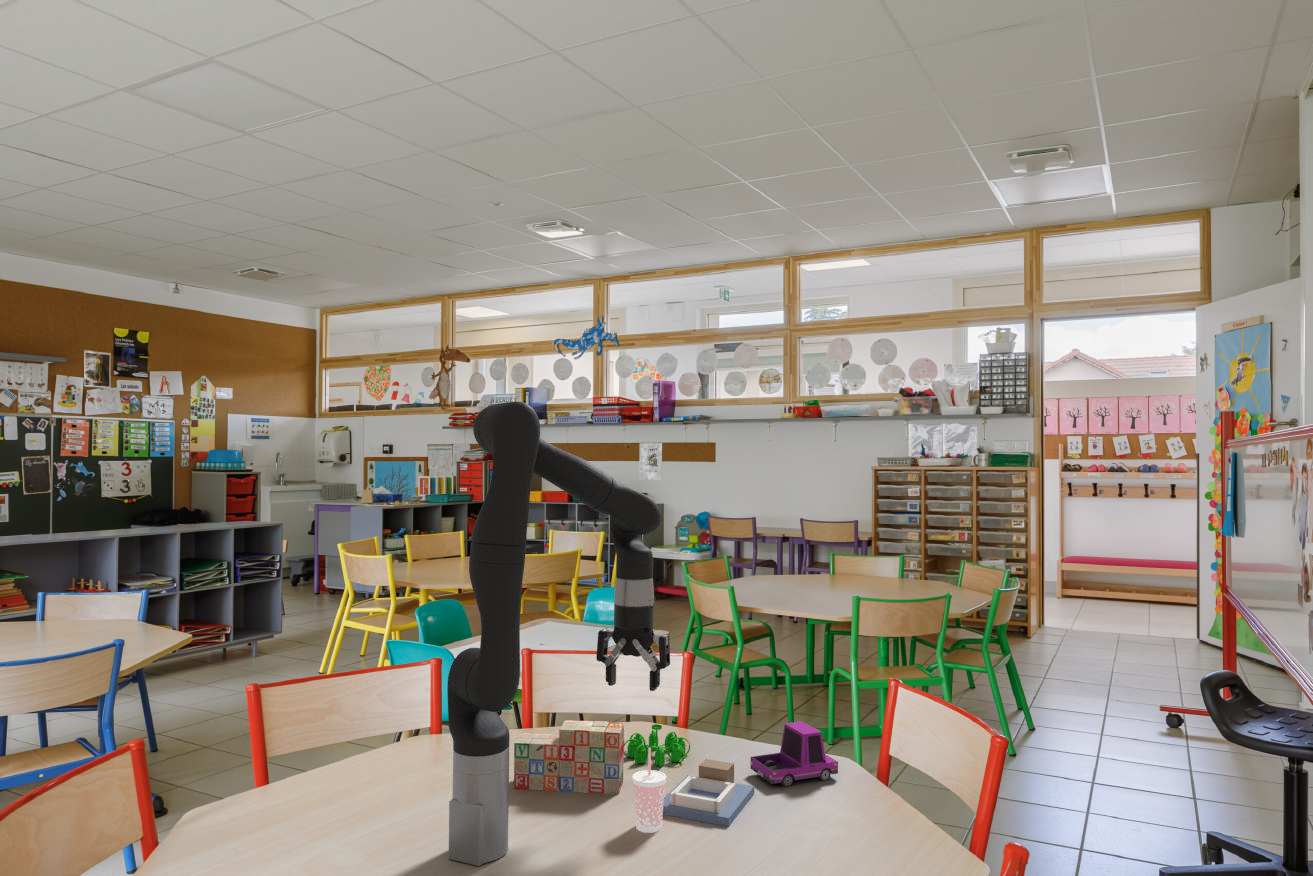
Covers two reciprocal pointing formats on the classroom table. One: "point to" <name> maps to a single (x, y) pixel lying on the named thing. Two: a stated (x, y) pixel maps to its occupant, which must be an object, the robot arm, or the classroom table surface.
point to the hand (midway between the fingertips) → (632, 687)
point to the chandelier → (656, 747)
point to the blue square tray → (709, 795)
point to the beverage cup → (649, 798)
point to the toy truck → (796, 757)
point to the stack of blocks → (572, 758)
